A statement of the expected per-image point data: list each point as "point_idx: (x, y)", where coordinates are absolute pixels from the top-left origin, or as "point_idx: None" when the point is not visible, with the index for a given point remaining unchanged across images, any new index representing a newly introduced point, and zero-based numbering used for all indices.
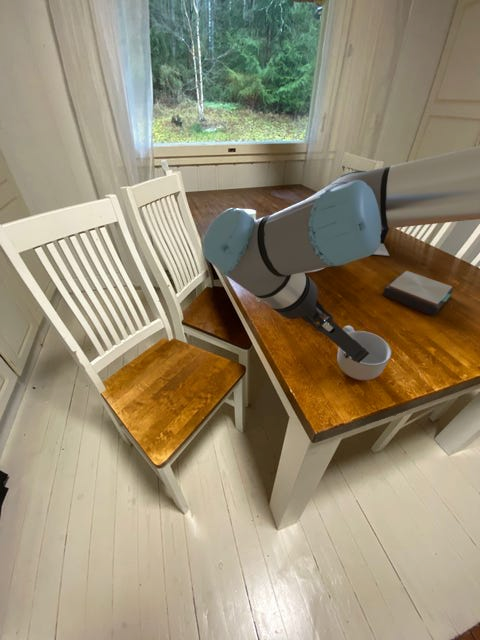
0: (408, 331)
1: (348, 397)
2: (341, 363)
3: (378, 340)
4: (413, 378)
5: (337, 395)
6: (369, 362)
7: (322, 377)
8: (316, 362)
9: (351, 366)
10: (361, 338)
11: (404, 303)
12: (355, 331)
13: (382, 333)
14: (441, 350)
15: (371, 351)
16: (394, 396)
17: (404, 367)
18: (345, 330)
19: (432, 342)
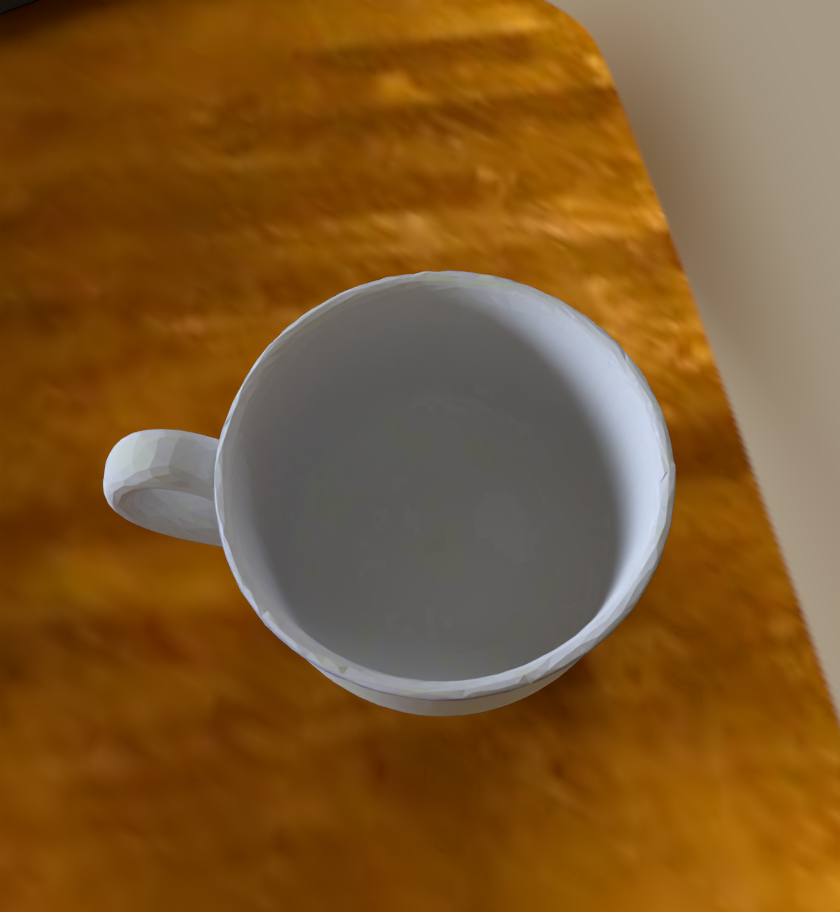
0: (227, 106)
1: (698, 770)
2: (463, 712)
3: (380, 311)
4: (581, 276)
5: (674, 856)
6: (434, 454)
7: (473, 898)
8: (297, 869)
9: (566, 668)
10: (281, 414)
11: (9, 3)
12: (227, 435)
13: (186, 235)
14: (413, 53)
15: (376, 397)
16: (706, 450)
17: (491, 274)
18: (138, 494)
19: (347, 55)
